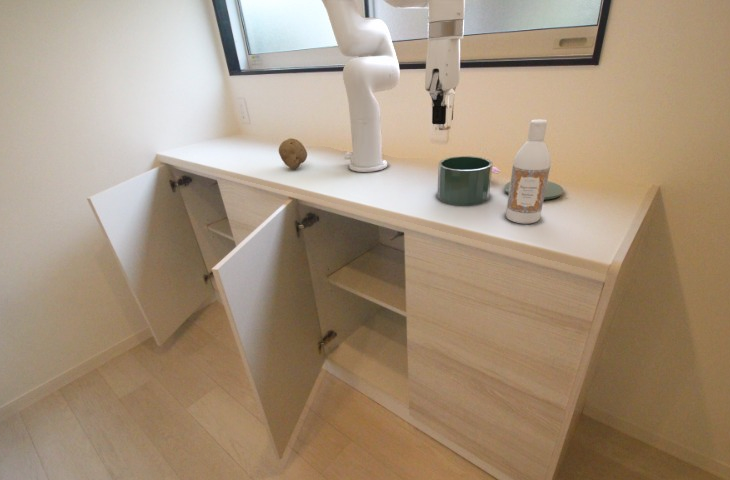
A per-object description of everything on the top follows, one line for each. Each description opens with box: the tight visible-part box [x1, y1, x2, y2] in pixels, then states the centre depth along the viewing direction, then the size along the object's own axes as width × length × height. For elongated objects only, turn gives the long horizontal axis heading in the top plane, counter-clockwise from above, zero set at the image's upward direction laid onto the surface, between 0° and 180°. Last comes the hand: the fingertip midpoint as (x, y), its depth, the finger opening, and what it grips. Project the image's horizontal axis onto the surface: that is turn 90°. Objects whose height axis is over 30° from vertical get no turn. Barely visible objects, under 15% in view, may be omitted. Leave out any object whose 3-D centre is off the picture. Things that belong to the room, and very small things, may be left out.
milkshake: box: [436, 88, 456, 131], centre depth 85 cm, size 4×5×10 cm
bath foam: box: [505, 119, 552, 225], centre depth 74 cm, size 7×7×20 cm
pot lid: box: [503, 180, 564, 200], centre depth 90 cm, size 14×14×7 cm
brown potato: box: [278, 137, 308, 171], centre depth 121 cm, size 9×9×10 cm
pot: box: [436, 155, 493, 207], centre depth 90 cm, size 13×13×8 cm
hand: (442, 121), depth 87 cm, fingers closed on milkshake, 4 cm apart
